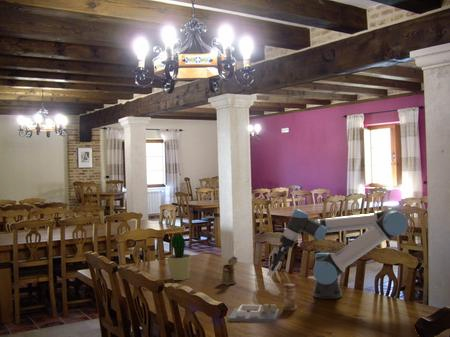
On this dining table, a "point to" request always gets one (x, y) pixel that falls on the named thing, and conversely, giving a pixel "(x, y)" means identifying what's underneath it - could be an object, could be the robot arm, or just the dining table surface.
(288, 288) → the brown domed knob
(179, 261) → the potted cactus
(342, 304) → the dining table surface
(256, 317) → the board
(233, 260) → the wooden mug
